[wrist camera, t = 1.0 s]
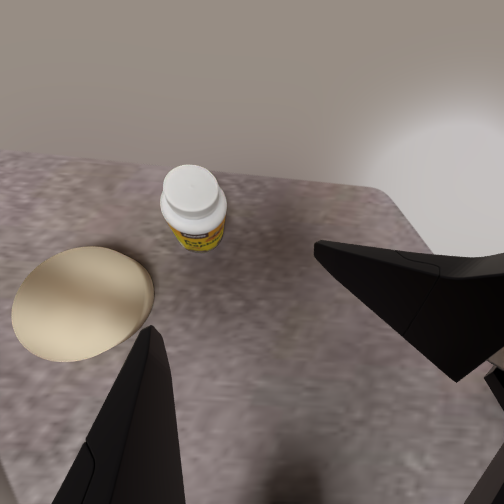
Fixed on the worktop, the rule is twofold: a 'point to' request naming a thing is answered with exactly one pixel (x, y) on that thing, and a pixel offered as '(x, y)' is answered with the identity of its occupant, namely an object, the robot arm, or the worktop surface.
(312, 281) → the worktop surface
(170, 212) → the supplement bottle
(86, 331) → the birch plinth
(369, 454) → the worktop surface
